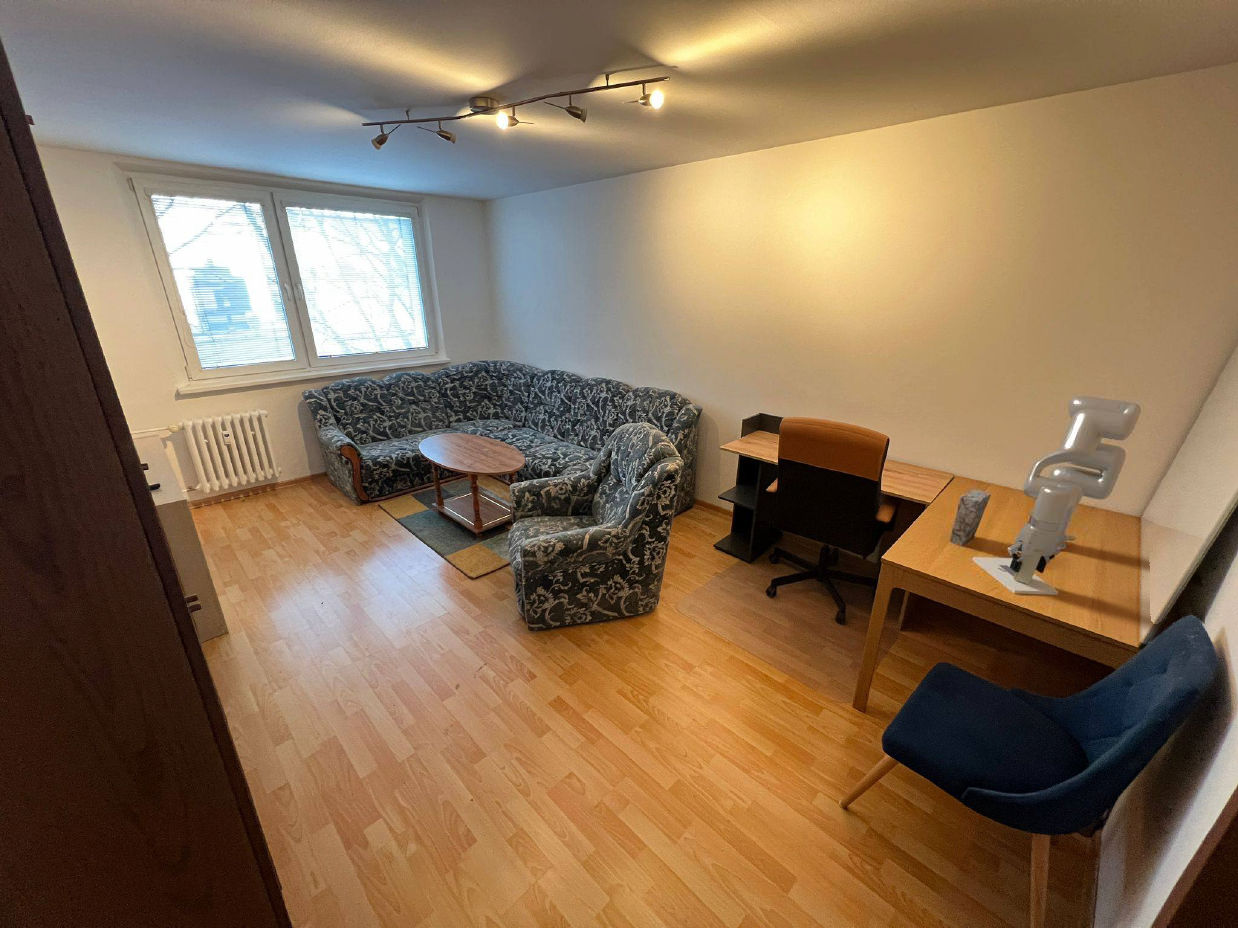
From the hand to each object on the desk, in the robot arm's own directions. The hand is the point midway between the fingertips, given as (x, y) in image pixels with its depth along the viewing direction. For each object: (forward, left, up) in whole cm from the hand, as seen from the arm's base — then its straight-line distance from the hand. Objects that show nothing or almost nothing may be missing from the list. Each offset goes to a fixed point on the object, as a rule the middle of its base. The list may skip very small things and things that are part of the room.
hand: (1026, 570), depth 158 cm
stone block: (+1, -29, -5) cm, 29 cm away
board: (0, -4, -5) cm, 6 cm away
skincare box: (0, 0, -3) cm, 3 cm away
